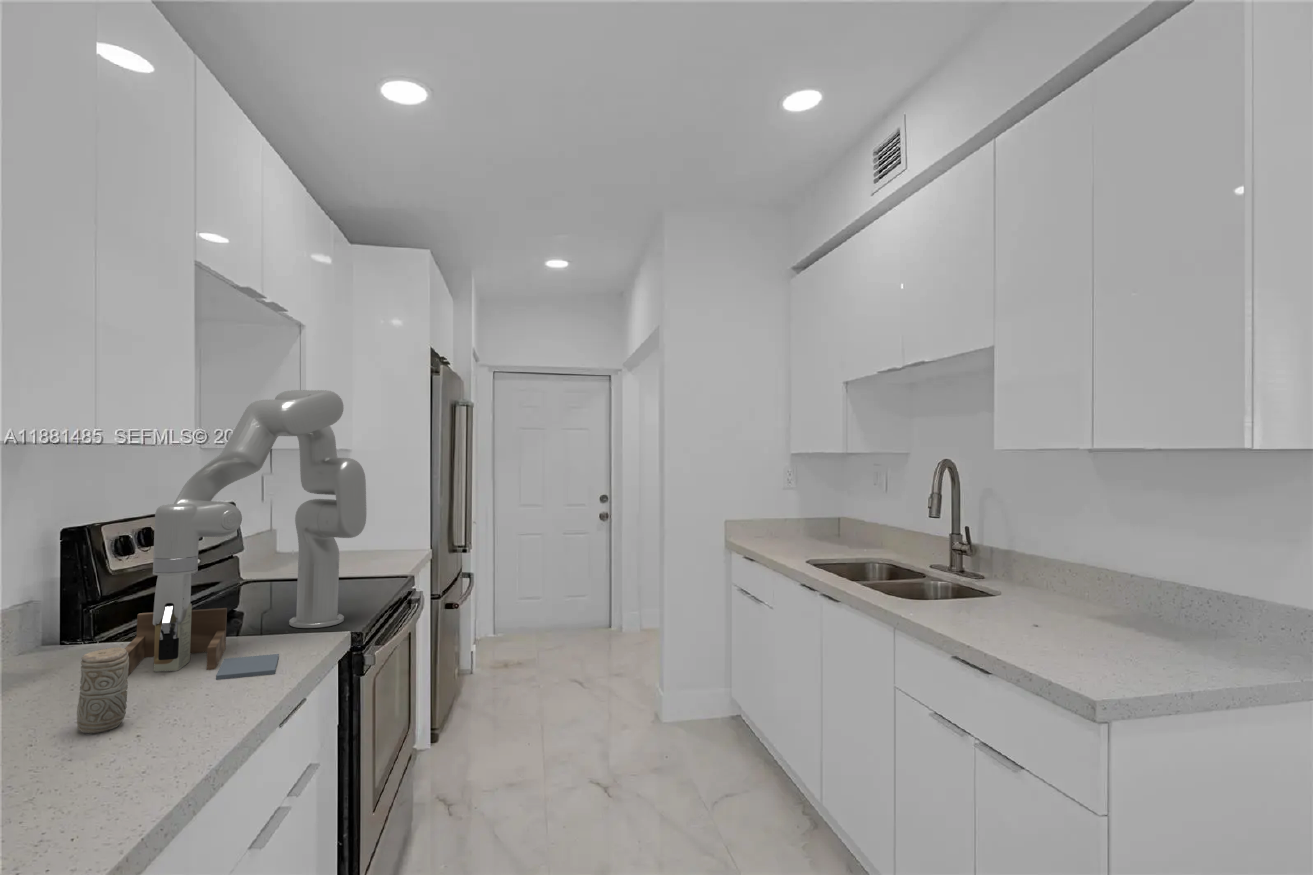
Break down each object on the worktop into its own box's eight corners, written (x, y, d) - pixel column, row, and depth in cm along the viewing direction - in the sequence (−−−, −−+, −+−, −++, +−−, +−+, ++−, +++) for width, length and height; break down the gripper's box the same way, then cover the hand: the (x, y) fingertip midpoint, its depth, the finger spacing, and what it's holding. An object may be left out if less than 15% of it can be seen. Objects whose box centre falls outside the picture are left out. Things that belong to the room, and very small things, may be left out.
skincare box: (167, 662, 145) (169, 603, 145) (190, 662, 146) (193, 602, 146) (151, 672, 138) (154, 610, 139) (176, 671, 139) (178, 609, 140)
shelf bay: (137, 656, 149) (139, 613, 149) (225, 648, 156) (227, 607, 156) (117, 678, 135) (119, 631, 135) (215, 669, 141) (216, 624, 142)
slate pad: (224, 662, 146) (224, 658, 146) (278, 657, 150) (278, 653, 150) (215, 679, 135) (216, 675, 135) (274, 674, 139) (275, 669, 139)
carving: (80, 740, 106) (83, 660, 107) (71, 726, 112) (74, 650, 112) (131, 728, 111) (134, 652, 111) (121, 716, 116) (124, 642, 117)
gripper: (162, 560, 149) (159, 644, 148) (143, 573, 133) (139, 668, 133) (204, 558, 152) (201, 641, 152) (190, 571, 136) (186, 664, 136)
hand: (172, 653), depth 142 cm, fingers closed on skincare box, 6 cm apart
